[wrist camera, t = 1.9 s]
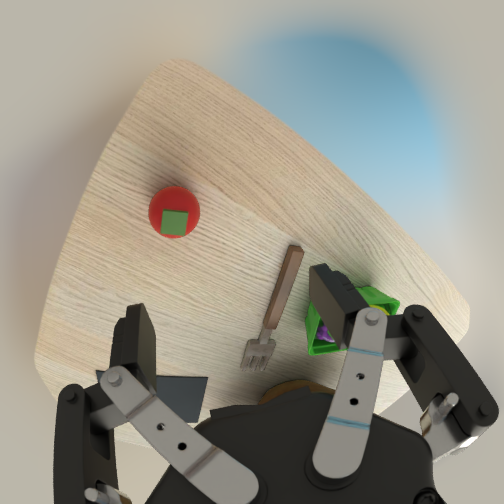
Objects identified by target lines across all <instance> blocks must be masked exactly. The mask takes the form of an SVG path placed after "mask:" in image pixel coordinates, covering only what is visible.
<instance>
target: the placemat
mask: <svg viewBox="0 0 504 504" xmlns="http://www.w3.org/2000/svg"><path fill="white" fill-rule="evenodd" d="M104 372H105V371H96V374H97V379H98V383H99V382H100V379H101V376H102V374H103V373H104ZM207 380H208V377H175V376H156V381H157V394H152V395H155V396H157V397H158V398H159V399H160V400H161V401H162V402H163V403H164V404H165V405H167V406H168V407H169V408H170V409H171V410H172V411H173V412H174V413H175V414H177V415H178V416H179V417H180V418H181V419H182V420H183V421H185V422H186V423H198V419H199V415H200V410H201V406H202V402H203V397H204V393H205V389H206V384H207Z"/></svg>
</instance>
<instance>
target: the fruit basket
mask: <svg viewBox="0 0 504 504" xmlns="http://www.w3.org/2000/svg"><path fill="white" fill-rule="evenodd" d="M355 289H357V290H358V292H359V293H360V294H361V295H362V297H363V298H364V299H365V300H366V302H367V303H368V304H369V306H370V307H373V308H377V309H380V310H382V311H383V312H384V313H385V314H386V315H395V314H396V312H397V310H398V308H399V306H400V302H399V301H398V300H396V299H394V298H390V297H389V296H387V295H385V294H384V293H382V292H380V291H379V290H377V289H375V288H374V287H372V286H367V287H362V288H358V287H355ZM307 313H308V316H307V317H306V319H305V324H306V331H307V338H308V354H309V355H320V354H326V353H331V352H337V351H344V350H348V348H346V349H343V350H339V348H338V346H337V345H336V343H335V341H334V340H333V338H332V336H331V334H330V333H329V331H328V329H327V328H326V326H325V324H324V322H323V321H322V319H321V317H320V316H319V314H318V312H317V311H316V309H315V307H314V305H313V304H312V302H310V305H309V309H308V312H307Z"/></svg>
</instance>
